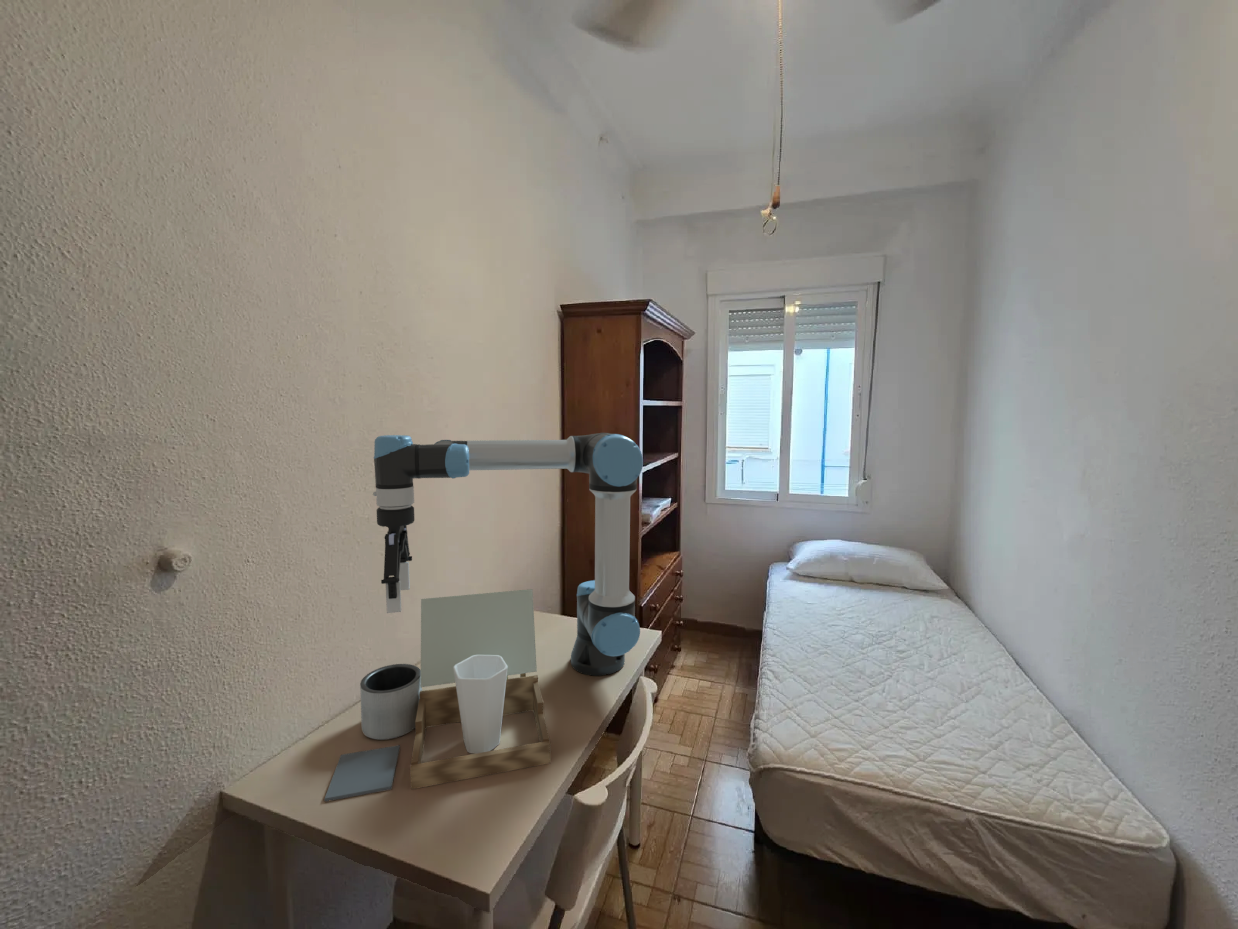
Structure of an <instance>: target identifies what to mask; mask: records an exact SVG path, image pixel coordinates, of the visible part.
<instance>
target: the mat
mask: <svg viewBox="0 0 1238 929" xmlns="http://www.w3.org/2000/svg"><path fill="white" fill-rule="evenodd" d="M400 750H401V746H400V745H399V744H398V745H394V746H387V747H386V746H385V747H380V748H374V749H373V748H372V749H369V750H363V751H356V752H349V753H344V754H341V755H340V757H339V759H338V763H337V764H336V767H335V770H334V772H333V776H332V777H331V780H330V783H329V786H328V789H327V791H326V794H325V797H324V802H325V801H326V802H330V801H329V800H331V801H335V800H340V799H346V798H352V797H357V796H362V795H363V796H364V795H368V794H373V793H378V792H383V791H390V790H392V787H393V782H394V778H395V775H396V774H395V773H396V769H397V768H396V767H397V763H398V759H399V754H400Z"/></svg>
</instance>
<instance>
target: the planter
mask: <svg viewBox="0 0 1238 929" xmlns="http://www.w3.org/2000/svg"><path fill="white" fill-rule="evenodd" d="M359 686H360V707H361V708H360V712H361V713H360V719H361V731H362V733H363V734H364V735H365V736H366V737H367V738H370V739H372V740H379V741H385V740H392V739H395V738H399V737H402V736H404V735H406V734H408V733H409V732H411V731H413V730H414V729H416V727H415V721H416V715H417V710H418V704H419V699H420V698H419V693H420V691H423V687H421V668H420V667H418V666H417V665H414V664H411V663H410V664H409V663H396V664H395V663H394V664H389V665H385V666H382V667H378V668H376V669H374V670H372V671H370V672H368V673H367V674H365V675H364V677H363V678H362V679H361V680H360V685H359Z"/></svg>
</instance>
